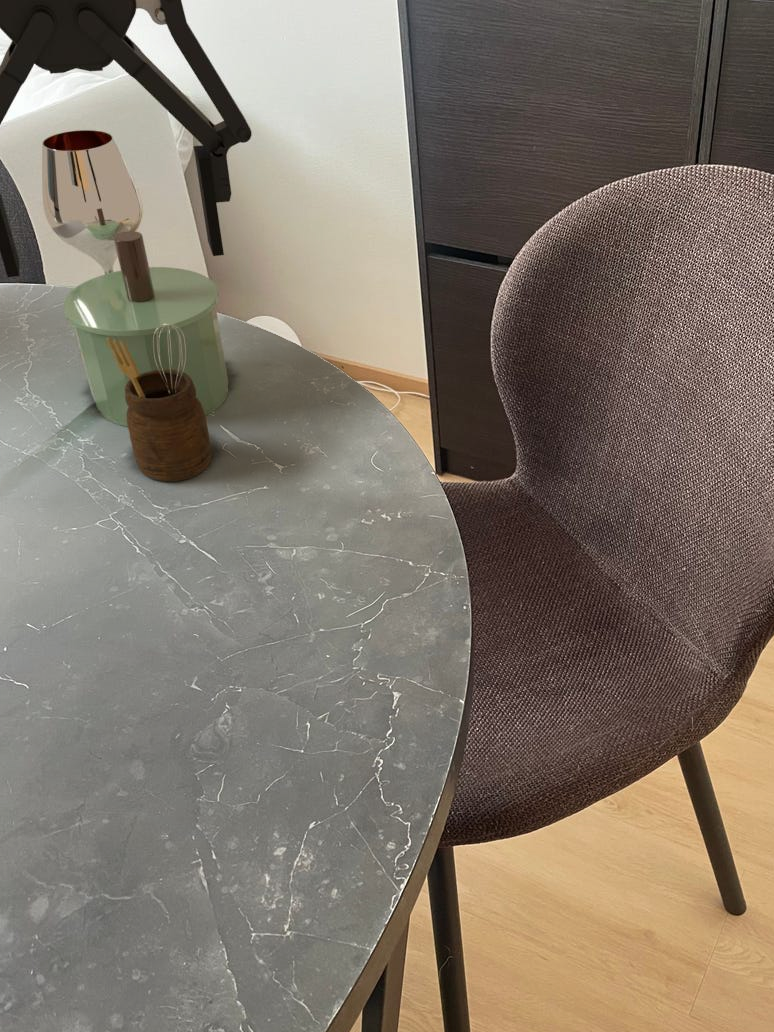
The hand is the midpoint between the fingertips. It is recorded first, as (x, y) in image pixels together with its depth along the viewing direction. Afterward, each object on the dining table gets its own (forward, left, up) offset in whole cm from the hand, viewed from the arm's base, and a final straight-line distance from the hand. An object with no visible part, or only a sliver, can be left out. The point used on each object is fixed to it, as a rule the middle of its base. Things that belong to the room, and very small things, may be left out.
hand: (117, 259), depth 72 cm
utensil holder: (+1, 0, -17) cm, 17 cm away
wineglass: (-15, +17, -17) cm, 28 cm away
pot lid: (-6, +9, -8) cm, 14 cm away
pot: (-6, +9, -17) cm, 20 cm away
